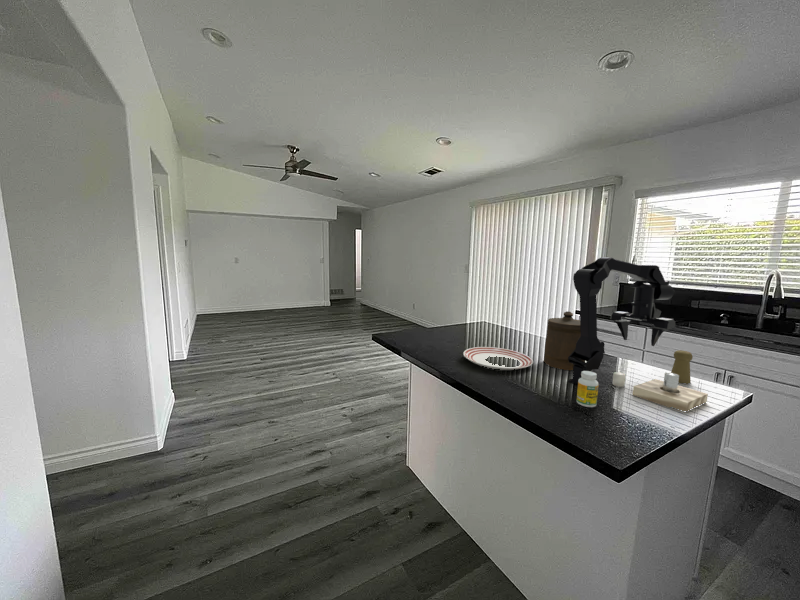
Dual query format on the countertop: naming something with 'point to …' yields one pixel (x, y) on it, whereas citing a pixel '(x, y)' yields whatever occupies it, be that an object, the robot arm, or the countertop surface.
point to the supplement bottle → (587, 389)
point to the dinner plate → (482, 353)
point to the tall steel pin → (670, 382)
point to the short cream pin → (618, 379)
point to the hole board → (670, 395)
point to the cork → (682, 366)
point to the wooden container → (561, 341)
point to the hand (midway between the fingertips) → (638, 342)
